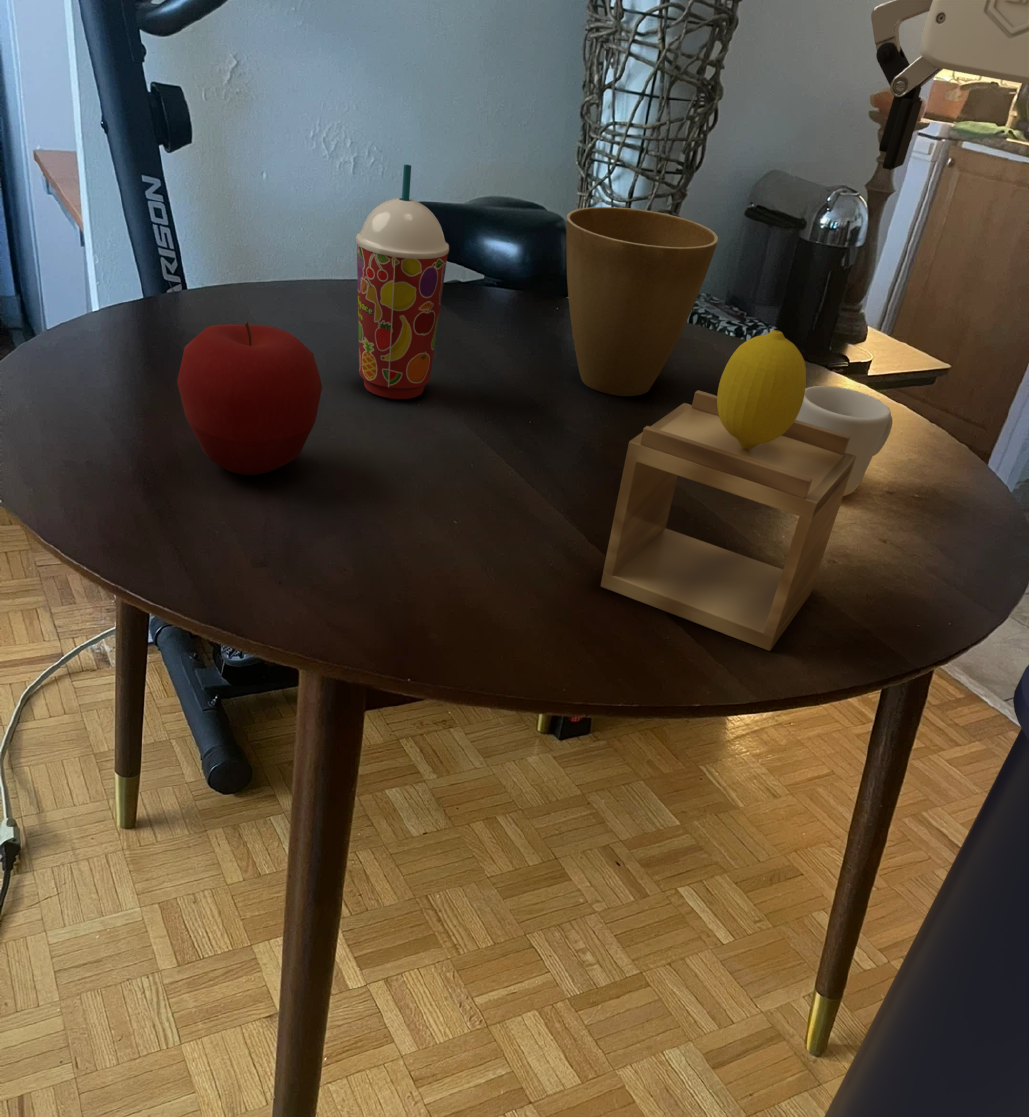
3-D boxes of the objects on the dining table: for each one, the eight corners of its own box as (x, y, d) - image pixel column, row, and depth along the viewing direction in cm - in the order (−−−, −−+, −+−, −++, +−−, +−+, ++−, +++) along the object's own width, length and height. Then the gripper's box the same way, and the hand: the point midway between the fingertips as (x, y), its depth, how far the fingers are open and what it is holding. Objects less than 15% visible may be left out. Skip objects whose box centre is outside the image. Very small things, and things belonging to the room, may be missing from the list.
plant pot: (570, 349, 120) (593, 198, 111) (696, 381, 117) (732, 227, 108) (523, 387, 109) (545, 220, 100) (662, 423, 105) (699, 255, 96)
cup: (839, 459, 103) (865, 379, 99) (901, 494, 98) (932, 411, 94) (758, 472, 98) (781, 388, 94) (819, 510, 93) (847, 423, 88)
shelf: (810, 594, 80) (861, 439, 73) (769, 651, 73) (822, 485, 66) (653, 538, 85) (687, 386, 78) (599, 586, 77) (632, 424, 70)
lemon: (694, 431, 74) (721, 314, 69) (767, 434, 75) (799, 319, 71) (722, 465, 69) (754, 343, 65) (799, 467, 71) (835, 348, 66)
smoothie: (352, 370, 107) (361, 150, 95) (436, 378, 108) (454, 162, 96) (348, 401, 100) (356, 168, 88) (437, 409, 101) (457, 180, 89)
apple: (252, 510, 80) (250, 357, 73) (151, 465, 84) (140, 315, 77) (347, 468, 88) (352, 326, 81) (250, 429, 92) (248, 290, 85)
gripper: (911, -185, 58) (819, 160, 68) (1261, -149, 52) (1106, 222, 62) (937, -165, 63) (849, 150, 73) (1256, -132, 58) (1114, 206, 68)
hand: (967, 183), depth 68 cm, fingers open, 9 cm apart
